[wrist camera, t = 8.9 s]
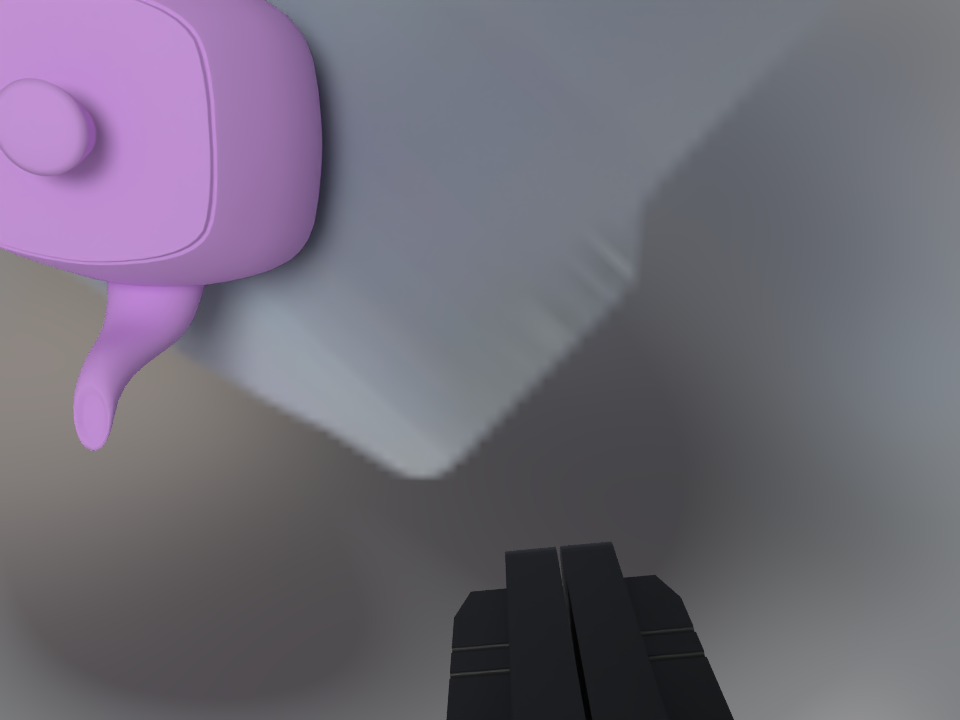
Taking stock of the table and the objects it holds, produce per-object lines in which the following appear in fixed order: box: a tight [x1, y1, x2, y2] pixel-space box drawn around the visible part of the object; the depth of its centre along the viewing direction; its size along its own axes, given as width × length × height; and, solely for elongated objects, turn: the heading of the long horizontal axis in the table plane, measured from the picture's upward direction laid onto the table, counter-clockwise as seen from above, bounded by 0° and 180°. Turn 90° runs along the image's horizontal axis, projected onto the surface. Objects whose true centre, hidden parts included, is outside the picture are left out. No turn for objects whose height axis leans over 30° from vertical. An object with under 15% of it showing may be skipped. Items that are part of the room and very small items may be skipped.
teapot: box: [0, 0, 322, 451], centre depth 35 cm, size 23×21×15 cm
